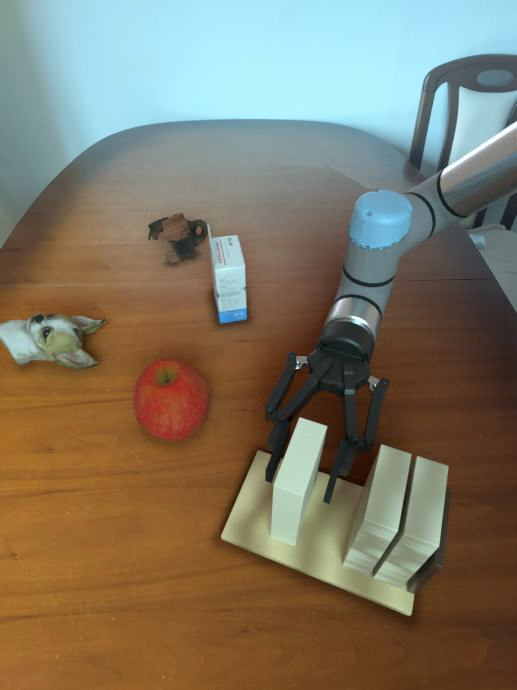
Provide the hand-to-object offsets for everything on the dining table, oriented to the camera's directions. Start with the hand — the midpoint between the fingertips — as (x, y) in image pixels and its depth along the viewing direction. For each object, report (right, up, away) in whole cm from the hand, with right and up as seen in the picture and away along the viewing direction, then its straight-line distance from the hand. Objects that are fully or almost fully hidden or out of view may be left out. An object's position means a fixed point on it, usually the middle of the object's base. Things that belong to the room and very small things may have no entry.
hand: (297, 486), depth 48 cm
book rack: (+4, -7, +6) cm, 10 cm away
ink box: (-9, +22, +31) cm, 40 cm away
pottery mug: (-20, +35, +43) cm, 58 cm away
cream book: (0, -5, +6) cm, 8 cm away
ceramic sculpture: (-36, +14, +24) cm, 46 cm away
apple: (-16, +5, +16) cm, 23 cm away
